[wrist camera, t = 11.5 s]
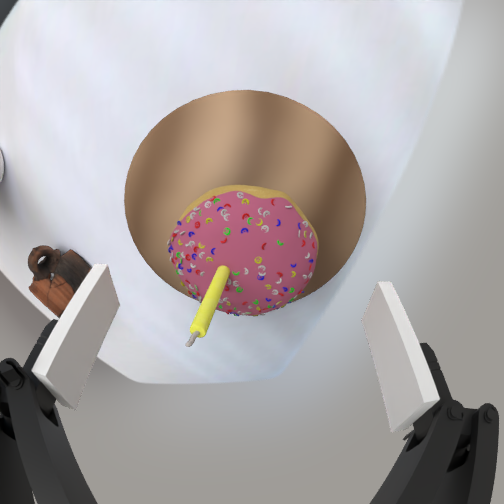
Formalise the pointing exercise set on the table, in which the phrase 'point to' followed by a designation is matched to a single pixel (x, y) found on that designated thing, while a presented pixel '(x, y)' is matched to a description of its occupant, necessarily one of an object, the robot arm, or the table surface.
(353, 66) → the table surface
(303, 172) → the cake stand
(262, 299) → the cupcake
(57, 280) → the broken pottery fragment
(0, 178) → the milk bottle
